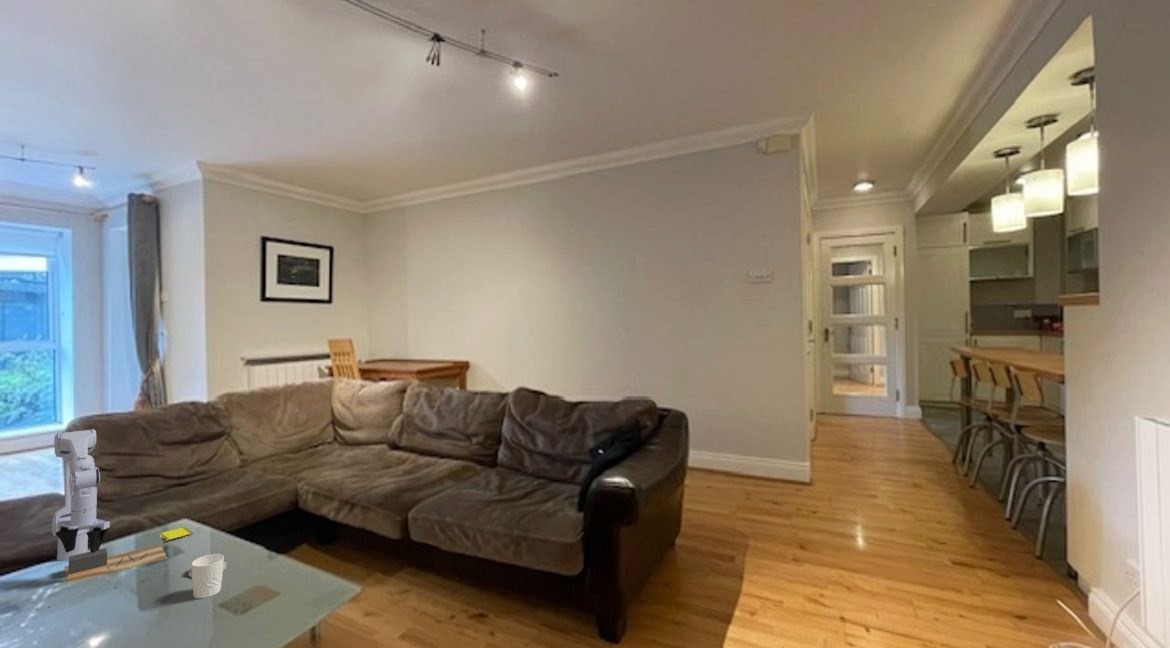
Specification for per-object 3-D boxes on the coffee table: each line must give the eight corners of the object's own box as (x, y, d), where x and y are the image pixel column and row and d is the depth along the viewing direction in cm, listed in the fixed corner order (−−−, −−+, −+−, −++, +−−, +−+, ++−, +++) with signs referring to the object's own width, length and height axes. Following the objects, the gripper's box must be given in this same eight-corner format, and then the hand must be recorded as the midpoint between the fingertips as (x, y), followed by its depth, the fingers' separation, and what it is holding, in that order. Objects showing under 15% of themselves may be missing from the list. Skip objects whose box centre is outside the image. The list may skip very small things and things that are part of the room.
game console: (183, 529, 197) (183, 525, 197) (194, 535, 190) (194, 532, 190) (123, 545, 181) (123, 541, 181) (133, 553, 175) (133, 549, 175)
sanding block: (67, 572, 158) (68, 556, 158) (106, 562, 165) (106, 547, 165) (68, 577, 155) (68, 561, 155) (107, 567, 161) (108, 552, 161)
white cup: (229, 588, 152) (230, 556, 153) (202, 602, 145) (203, 568, 145) (211, 584, 155) (212, 552, 155) (184, 596, 148) (185, 563, 148)
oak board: (64, 570, 161) (64, 566, 161) (160, 547, 179) (160, 543, 179) (66, 588, 151) (66, 584, 151) (167, 561, 168) (167, 558, 168)
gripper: (46, 512, 151) (45, 556, 151) (95, 513, 151) (93, 557, 151) (70, 504, 158) (68, 546, 158) (116, 505, 158) (115, 547, 158)
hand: (82, 551), depth 155 cm, fingers open, 7 cm apart
